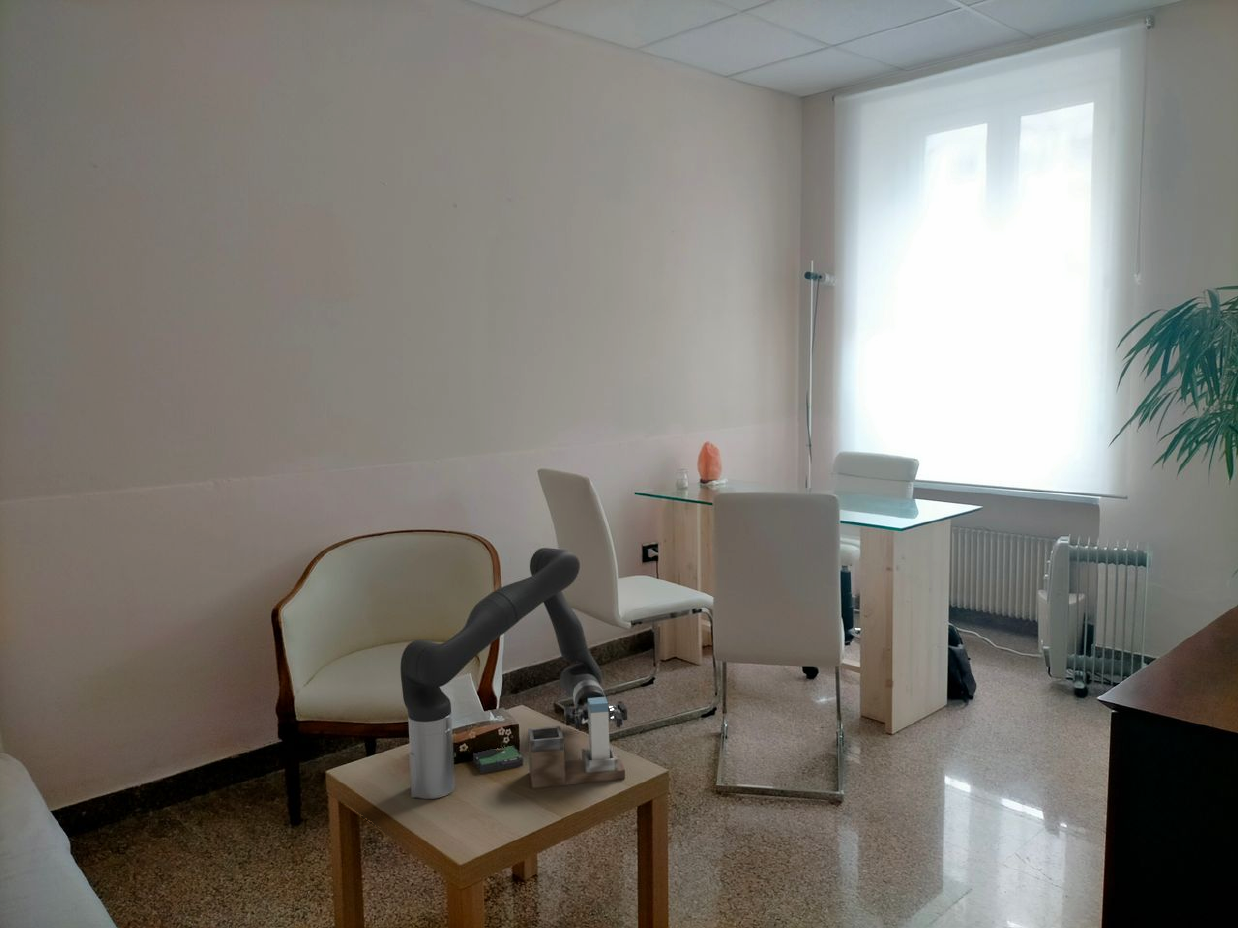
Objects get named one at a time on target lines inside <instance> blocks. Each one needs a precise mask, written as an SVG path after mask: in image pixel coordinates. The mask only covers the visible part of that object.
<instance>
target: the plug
mask: <svg viewBox="0 0 1238 928" xmlns="http://www.w3.org/2000/svg"><path fill="white" fill-rule="evenodd" d="M606 698H607V696H606V697H597V698H588V720H589V721H588V744H589V745H588V746H589V747H588V749H589V751H590V760H599V759H609V758H610V748H609V747H610V722H609V714H608V703H609V702H607V701H608V699H606Z"/></svg>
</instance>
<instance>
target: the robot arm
mask: <svg viewBox="0 0 1238 928" xmlns="http://www.w3.org/2000/svg"><path fill="white" fill-rule="evenodd" d="M580 566H581V565H580V560H579V558H578V557H577V555H576V554H575V553H574V552H571V551H568V550H567V549H566V550H565V549H558V548H549V547H541V548H538V549H537V550H536V551H534V553H533V554H532V556H531V557H530V560H529V571H530V572H529V573H530V575H531V576H529V577H526V578H524V579H521V580H518V581H514V582H511V583H509V584H506V585H504V586H502V587H499V588H497V589H494V591H492V592H491V593H489V594H488V595H486V596H485V597H483V598H482V599H481V600H480V601H478V602H477V603H476V604H475V605H474V606H473V608H472V610H471V611H470V613H469V614H468V615H469V616H468V618H467V620H466V623H465V625H464V626H463V628H462V629H461V630H460V631H459V632H457V633H456V634H454V635H453V636H452V637H451V638H448V639H447V640H446V641H444V642H442V643H438V642H434V641H429V640H426V639H416V640H413V641H411V642H410V643H409V644H407V645H406V647H405V648H404V650H403V653H402V655H401V659H400V679H401V689H402V698H403V703H404V705H405V707H406V710H407V716H408V717H407V719H408V735H409V736H408V737H409V756H408V757H409V771H410V789H411V790H410V791H411V798H419V799H426V800H427V799H428V800H430V799H438V798H439V799H440V798H442V797H446V796H447V795H449V794H450V795H451V793H452V792H454V790H455V788H456V784H455V779H456V778H455V764H454V763H455V760H454V741H453V740H454V739H453V724H452V723H453V720H452V702H451V700H450V698H449V697H448V696H447V695H446V694H445V693H444V692H443V690H442V688H441V687H443V686H445V685H447V684H448V683H449V682H451V681H452V680H453V679H455V677H456V676H457V675H458V674H459V673H460V672H461V671H462V670H463V669H464V668H465V667H466V666H467V665H468V664H469V663H470V662H471V661H472V660H473V659H474V658H475V657H476V656H477V655H479V654H480V653H481V652H482V651H484V649H485V650H486V648H487V647H488V646H490V645H491V644H492V643H493V642H494V641H496V640H497V639H498V638H500V637H501V636H502V635H504V634H505V633H506V632H508V631H509V630H510V629H511V628H513V627H514V626H515V625H516V624H517V623H519V622H520V621H521V620H522V619H523V618H525V617H526V616H527V615H529V614H530V613H531V612H533V611H534V610H535V609H536V608H537V607H539V606H540V605H541V604H543V605H544V607H545V609H546V612H547V614H548V616H549V619H550V621H551V624H552V627H553V629H554V633H555V636H556V641H557V645H558V647H559V652H560V655H561V657H562V659H563V660H564V661H565V662H574V663H575V662H580V663H577V664H574V665H571V666H570V665H569V666H567V667H566V668H564V669H562V671H561V673H560V683H561V686H562V688H563V690H564V692H565V693H566V694H567V695H568V696H569V697H572V698H573V705H574V706H575V708H572V707H570V706H569V705H565V706H564V707H563V708H564V722H565V725H566V726H568V727H569V726H572V724H573V726H574V727H575V729H576V730H578V731H579V732H582V731H583V725H584V724H586V723H588V722H589V720H588V698H597V697H606V699H607V696H606V694H605V692H604V690H603V688H602V686H601V683H602V682H603V673H602V670H601V668H600V667H599V665H598V664H597V662H596V660H595V659H594V657H593V656H592V653H591V651H590V649H589V647H588V643H587V639H586V635H585V631H584V627H583V625H582V623H581V621H580V619H579V617H578V615H577V614H576V613H575V611H574V610H573V608H572V607H571V606H570V604H569V603H568V601H567V599H566V598H565V596H564V594H563V592H562V591H563V590H566V589H567V588H568V587H569V586H571V585H572V584H573V583H574V582H575V580H576V579H577V577H578V575H579V573H580V568H581V567H580ZM607 702H608V699H607ZM608 714H609V723H610V722H614V725H615V726H616V728H617V729H619V728H621V726H623V721H627V720H628V708H627V707H626V704H625V703H624V702H623V701H621V700H618V701H617V703H616V704H613V705H612V704H611V703H609V702H608Z"/></svg>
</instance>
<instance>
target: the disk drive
mask: <svg viewBox="0 0 1238 928" xmlns="http://www.w3.org/2000/svg"><path fill="white" fill-rule="evenodd" d="M473 760H474V762H473V764H474V766H475V767H476V769H477V771H478V772H479V774H481V775H482V774H487V773H492V772H497V771H501V770H502V771H503V770H508V769H512V768H517V767H522V766H524V758H523V757H522V755H521V752H520V751H519V750H518V748H516V746H515V745H514V744H513V745H512V746H507V747H504V748H503V747H502V748H497V749H490V750H486V751H482V752H478V753H473ZM507 768H508V769H507Z"/></svg>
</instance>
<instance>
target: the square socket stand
mask: <svg viewBox="0 0 1238 928" xmlns="http://www.w3.org/2000/svg"><path fill="white" fill-rule="evenodd" d="M527 732H528V755H529V757H528V759H529V774H530V780H531V781H530V782H531V786H532V789H537V788H544V787H545V788H547V787H556V786H565V785H577V784H586V783H595V782H596V783H597V782H605V781H615V780H624V779H623V778H625V779H626V770H625V767H624V764H623V763H622V760H621V758H620V755H617V753H616V750H615V748H614V746H609V748H610V758H609V759H599V760H590V751H589V748H582V749H581V758H580V759H568V760H565V749H564V748H565V745H564V743H565V742H564V735H563V733H562V732H563V730H562V728H561V726H560V725H555V726H543V727H535V728H533V727H531V728H528V731H527Z"/></svg>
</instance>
